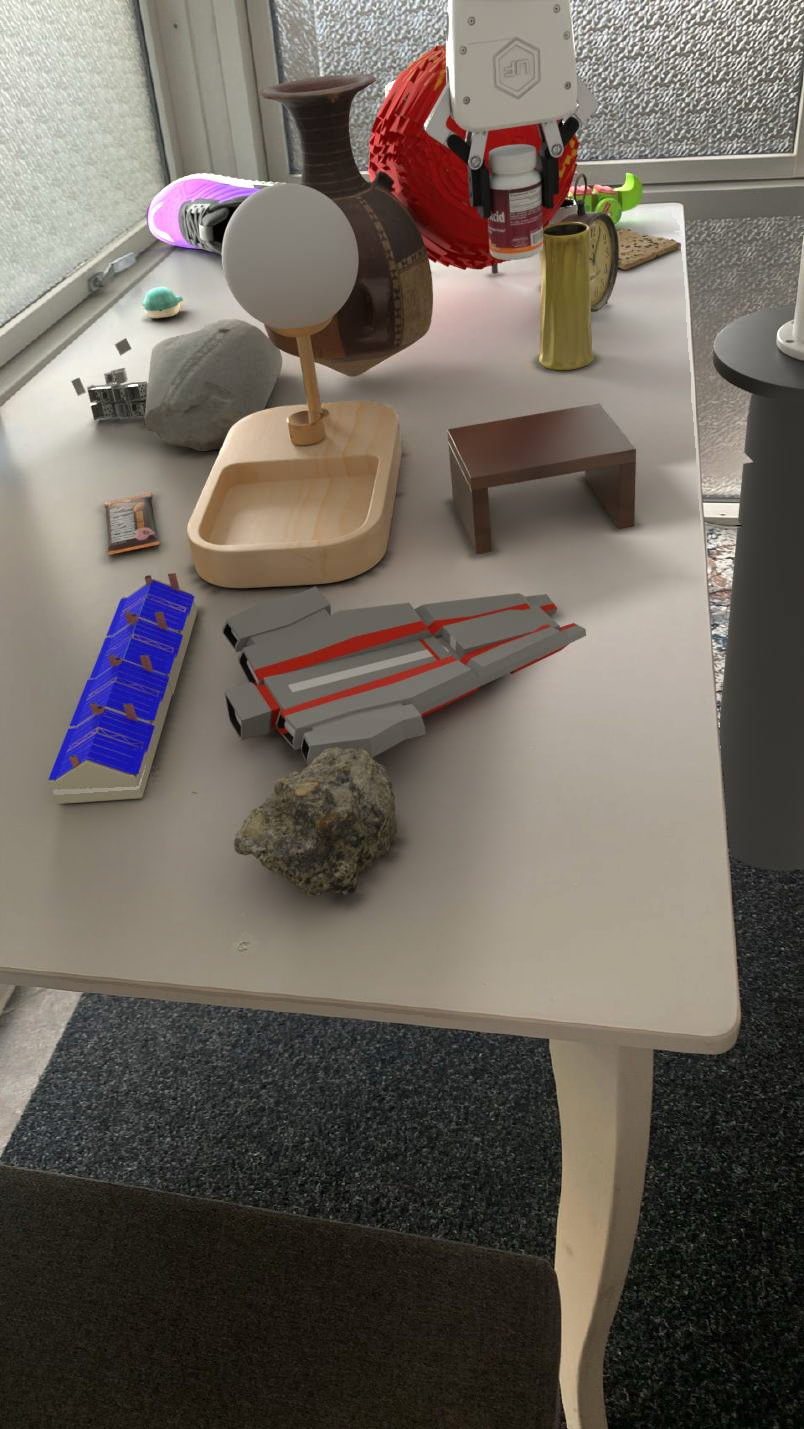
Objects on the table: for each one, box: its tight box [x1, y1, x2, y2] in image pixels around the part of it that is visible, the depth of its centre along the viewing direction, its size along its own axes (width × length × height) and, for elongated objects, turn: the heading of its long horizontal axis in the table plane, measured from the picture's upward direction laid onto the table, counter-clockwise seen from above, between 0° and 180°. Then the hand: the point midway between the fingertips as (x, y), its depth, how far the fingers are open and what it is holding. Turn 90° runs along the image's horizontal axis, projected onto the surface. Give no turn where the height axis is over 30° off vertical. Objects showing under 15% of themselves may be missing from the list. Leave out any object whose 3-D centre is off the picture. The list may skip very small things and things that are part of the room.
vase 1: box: [257, 73, 434, 378], centre depth 121 cm, size 23×19×30 cm
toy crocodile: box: [565, 172, 643, 226], centre depth 164 cm, size 20×7×6 cm, turn 98°
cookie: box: [616, 228, 682, 270], centre depth 155 cm, size 12×12×1 cm
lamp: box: [186, 182, 403, 589], centre depth 99 cm, size 33×17×25 cm, turn 176°
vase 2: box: [538, 222, 595, 371], centre depth 122 cm, size 6×6×14 cm
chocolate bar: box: [103, 492, 160, 556], centre depth 106 cm, size 11×5×1 cm, turn 14°
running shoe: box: [145, 172, 286, 256], centre depth 172 cm, size 11×29×15 cm
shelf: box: [446, 403, 637, 555], centre depth 98 cm, size 14×10×7 cm
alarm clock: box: [560, 173, 619, 313], centre depth 132 cm, size 11×5×16 cm, turn 146°
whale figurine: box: [141, 286, 185, 319], centre depth 154 cm, size 6×7×4 cm
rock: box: [233, 747, 398, 897], centre depth 67 cm, size 6×9×10 cm
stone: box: [144, 318, 283, 452], centre depth 125 cm, size 26×7×15 cm
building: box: [47, 572, 198, 805], centre depth 83 cm, size 23×6×4 cm, turn 179°
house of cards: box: [70, 337, 148, 422], centre depth 127 cm, size 9×9×8 cm
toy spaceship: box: [221, 585, 587, 767], centre depth 81 cm, size 19×27×5 cm
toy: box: [367, 43, 580, 271], centre depth 128 cm, size 23×24×30 cm
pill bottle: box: [488, 144, 543, 261], centre depth 97 cm, size 5×5×8 cm
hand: (514, 207), depth 97 cm, fingers closed on pill bottle, 4 cm apart
